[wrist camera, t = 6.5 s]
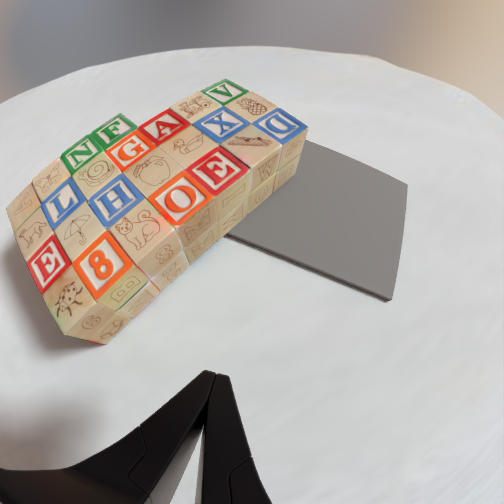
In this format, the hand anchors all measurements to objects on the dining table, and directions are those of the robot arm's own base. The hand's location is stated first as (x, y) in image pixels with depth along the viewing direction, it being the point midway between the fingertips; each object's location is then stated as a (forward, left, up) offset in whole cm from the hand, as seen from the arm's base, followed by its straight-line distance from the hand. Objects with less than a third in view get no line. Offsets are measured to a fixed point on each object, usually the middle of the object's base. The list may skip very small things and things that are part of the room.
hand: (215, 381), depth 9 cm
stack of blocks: (+7, +5, -7) cm, 11 cm away
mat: (+16, +2, -11) cm, 20 cm away
